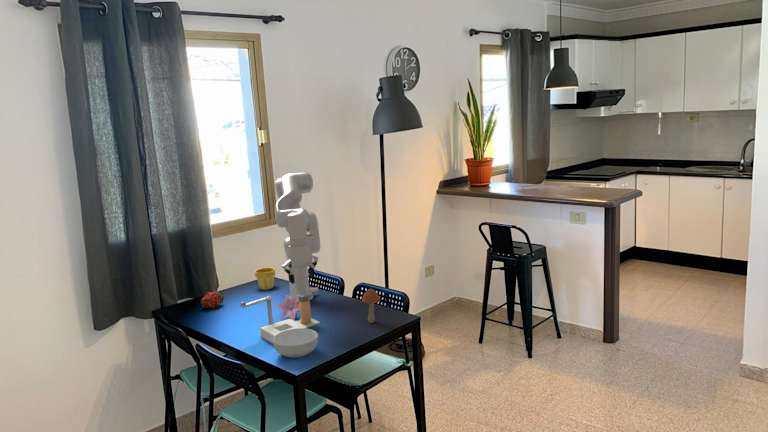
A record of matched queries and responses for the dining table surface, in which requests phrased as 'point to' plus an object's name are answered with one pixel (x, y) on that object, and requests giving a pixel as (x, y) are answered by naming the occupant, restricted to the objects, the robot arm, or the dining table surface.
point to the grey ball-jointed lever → (254, 302)
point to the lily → (289, 306)
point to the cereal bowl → (295, 342)
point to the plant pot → (265, 277)
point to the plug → (304, 309)
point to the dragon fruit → (212, 299)
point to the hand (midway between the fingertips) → (302, 280)
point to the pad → (313, 322)
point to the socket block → (277, 325)
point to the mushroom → (371, 303)
